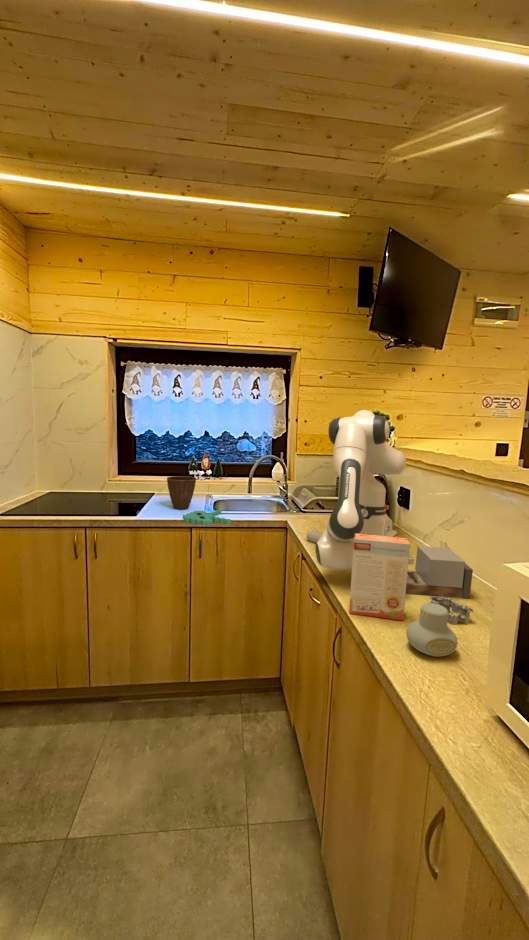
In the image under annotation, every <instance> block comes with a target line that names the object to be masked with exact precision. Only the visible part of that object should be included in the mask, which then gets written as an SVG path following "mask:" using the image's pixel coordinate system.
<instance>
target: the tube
mask: <svg viewBox="0 0 529 940" xmlns="http://www.w3.org/2000/svg"><path fill="white" fill-rule="evenodd" d="M322 534H323V532H320V531H317V530H315V529H312V530H310V531H307V533H306V539H307V541H308V542H309V543H313V544H315V545H316V543H317V542H318V541H319V539H320V538H321V536H322Z"/></svg>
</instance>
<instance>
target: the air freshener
mask: <svg viewBox="0 0 529 940" xmlns="http://www.w3.org/2000/svg"><path fill="white" fill-rule="evenodd" d="M448 623H449V622H448V610H447V609H446V608H445V607H443V606H441V605H438V604H434V603H430V602H428V603H427V602H426V603H423V604H421V606H420V611H419V619H417V620H415V621H413V622H411V623H410V624H408V626H407V627H406V632H405V634H406V638H407V641H408V642H409V644H410V645H411V646H412V647H413V648H414V649H416V650H417V651H419V652H420V653H422V654H425V655H427V656H430V657H434V658H438V657H445V656H448V655H450V654H453V652H455V650H457V647H458V638H457V635H456V633H455V632H454V630H452V629H451V628H450V626H448Z"/></svg>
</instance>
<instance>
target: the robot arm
mask: <svg viewBox="0 0 529 940" xmlns="http://www.w3.org/2000/svg"><path fill="white" fill-rule="evenodd" d="M327 430H328V431H327V433H328V437H329V438H328V439H329V441H330V442H331V443H332V444H333V445H334V446H333V453H332V466H333V467H332V469H333V471H334V473H335V474H336V475H337V476H338V478H339V482H338V483H339V484H338V496H337V502H336V505H335V507H334V509H333V510H332V512H331V514H330V517H329V519H328V521H327V522H326V526H325V528H324V531H323V532H322V533H323V534H322V536H321V538H320V539H319V541H318V542H317V543H316V544H315V546H314V547H315V556H316V561H317V563H318V565H319V566H321V567H323V568H325V569H326V568H327V569H331V570H332V569H333V570H340V571H342V570H343V571H345V570H352V562H353V550H354V538H355V533H358V534H368V535H378V536H389V537H396V535H397V534H398V531H397V530H395V529H393V520H392V519H391V518H390V517H389V516H388V514H387V510H389V508H390V505H389V504H386V493H387V490H386V487H385V485H384V484H383V483H382V482H380V481H379V480H377V479H376V478H375V475H374V474H377V475H378V474H379V475H385V476H386V475H387V476H391V475H392V476H393V475H394V476H395V475H400V474H402V473H403V472H404V470H405V469H406V466H407V458H406V456H405V454H404V452H403V451H400V450H399V449H396V448H394V447H393V446H391V445H390V443H388V442H387V441H388V438H389V436H390V423H389V422H388V418H386V417H385V416H382V415H377V414H376V415H375V414H374V412H372V411H370V410H367V409H361V410H359V411H357V412H355V413H354V414H353V415H351V416H346V417H340V416H339V417H336V418H333V419H332V420H331V421H330V423H329V424H328V429H327ZM414 562H415V559H414V558H413V557H412V556H411V555H409V559H408V565H414V564H415V563H414Z"/></svg>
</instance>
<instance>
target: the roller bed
mask: <svg viewBox="0 0 529 940" xmlns="http://www.w3.org/2000/svg"><path fill="white" fill-rule="evenodd" d="M473 572H474V569H472V568H471V567H470V566H469V565H467V563H466V562H465V567H464V576H463V585H462V588H459V587H445V586H430V585H427V584H426V582H425V581H424V580H423V579H422V577H421V576H420V575H419V574H418V572H417V571H416V570H409V569H408V571H407V582H406V594H405V595H419V596H432V597H434V596H436V597H438V596H440V597H442V596H444V598H445V597H446V598H447V597H448V598H461V599H468V600H470V597H471V588H472V581H473V580H472V579H473Z"/></svg>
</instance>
